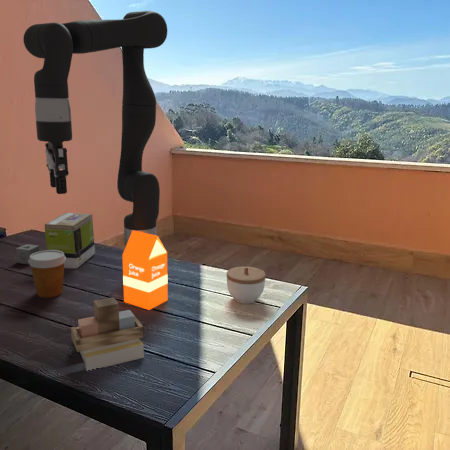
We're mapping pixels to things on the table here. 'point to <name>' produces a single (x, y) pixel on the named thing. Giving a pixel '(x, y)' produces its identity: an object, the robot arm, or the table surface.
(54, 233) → the tea box
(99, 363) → the strip
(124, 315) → the block
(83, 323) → the block
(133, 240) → the orange juice
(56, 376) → the table surface
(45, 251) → the disposable coffee cup
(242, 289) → the lidded jar
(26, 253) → the dice cube
